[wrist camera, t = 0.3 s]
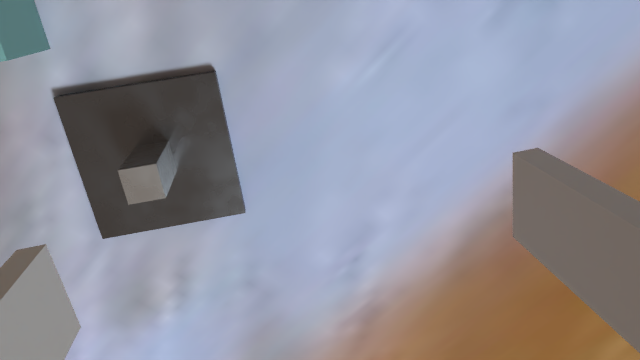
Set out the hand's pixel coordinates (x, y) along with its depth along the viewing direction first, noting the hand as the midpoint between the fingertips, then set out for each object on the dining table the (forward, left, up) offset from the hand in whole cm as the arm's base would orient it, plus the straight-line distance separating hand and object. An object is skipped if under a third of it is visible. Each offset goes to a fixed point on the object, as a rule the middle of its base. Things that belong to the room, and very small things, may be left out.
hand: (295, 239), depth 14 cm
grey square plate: (+5, -10, -27) cm, 29 cm away
